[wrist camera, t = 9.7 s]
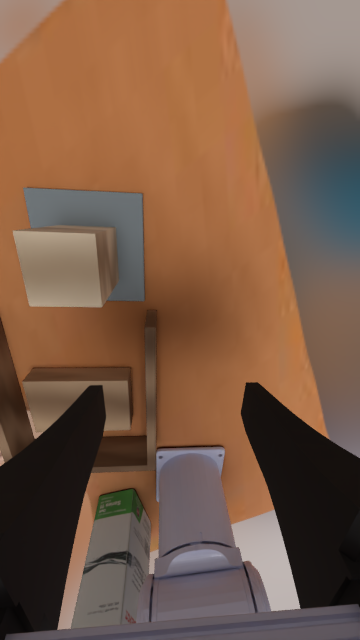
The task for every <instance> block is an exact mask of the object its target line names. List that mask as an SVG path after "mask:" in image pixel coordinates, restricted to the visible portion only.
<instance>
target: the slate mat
mask: <svg viewBox="0 0 360 640" xmlns="http://www.w3.org/2000/svg"><path fill="white" fill-rule="evenodd" d="M23 190H24V195H25V200H26V205H27V210H28V215H29V220H30V226H31V228H39V227H47V226H56V225H72V226H97V227H116V237H117V254H118V270H119V282H118V283H117V285H116V286H115V288H114V289H113V291H112V293H111V294H110V296H109V297H108V299H107V300H106V301H145V286H144V235H143V194H140V193H120V192H99V191H79V190H59V189H39V188H23Z"/></svg>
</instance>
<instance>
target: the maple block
mask: <svg viewBox="0 0 360 640" xmlns="http://www.w3.org/2000/svg"><path fill="white" fill-rule="evenodd" d="M13 235H14V239H15V244H16V248H17V252H18V257H19V261H20V266H21V270H22V275H23V279H24V284H25V288H26V293H27V297H28V302H29V306H47V307H103V305H104V304H105V302H106V300H107V299H108V297H109V296H110V294H111V293H112V291H113V289H114V288H115V286H116V285H117V283H118V282H119V270H118V254H117V237H116V227H97V226H72V225H56V226H47V227H39V228H31V229H23V230H15V231H13Z"/></svg>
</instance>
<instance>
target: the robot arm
mask: <svg viewBox="0 0 360 640" xmlns="http://www.w3.org/2000/svg"><path fill="white" fill-rule="evenodd" d="M241 416H242V420H243V424H244V427H245V431H246V434H247V436H248V439H249V441H250V444H251V446H252V449H253V451H254V454H255V456H256V459H257V461H258V463H259V466H260V468H261V471H262V473H263V476H264V478H265V481H266V484H267V486H268V489H269V493H270V496H271V499H272V502H273V506H274V509H275V512H276V516H277V519H278V522H279V526H280V530H281V533H282V536H283V540H284V544H285V547H286V551H287V555H288V559H289V563H290V566H291V570H292V575H293V579H294V583H295V587H296V591H297V595H298V599H299V603H300V608H301V609H295V610H282V611H271V609H270V605H269V601H268V598H267V594H266V591H265V588H264V585H263V582H262V579H261V576H260V574H259V572H258V570H257V569H256V568H255V567H254V566H253V565H252V564H251V562H249V561H245V562H242V558H241V553H240V549H239V548H238V547H236V546H235V541H234V537H233V532H232V528H231V523H230V518H229V514H228V509H227V505H226V500H225V496H224V491H223V486H222V482H221V473H222V466H223V460H224V454H225V450H224V448H223V447H195V448H162V449H158V450H157V451H156V501H158V502H159V558H156V559H155V571H154V572H155V573H154V574H149V575H147V577H146V580H145V582H144V583H143V585H142V587H141V589H140V593H139V599H138V607H137V618H136V623H132V624H120V625H109V626H97V627H86V628H74V629H62V630H57V628H58V622H59V617H60V611H61V606H62V600H63V595H64V589H65V584H66V578H67V573H68V568H69V563H70V558H71V553H72V548H73V544H74V538H75V534H76V529H77V525H78V520H79V516H80V511H81V506H82V503H83V498H84V494H85V491H86V487H87V484H88V481H89V478H90V474H91V471H92V468H93V465H94V462H95V459H96V456H97V453H98V450H99V446H100V443H101V440H102V436H103V432H104V427H105V421H106V410H105V402H104V393H103V385H90V386H89V387H87V389H86V390H85V391H84V392H83V393H82V394H81V395H80V396H79V397H78V398H77V399H76V401H75V402H74V403H73V404H72V405H71V406H70V407H69V408H68V409H67V410H66V411H65V412H64V413H63V414H62V415H61V416H60V417H59V418H58V419H57V420H56V421H55V422H54V423H53V424H52V425H51V426H50V427H49V428H48V429H47V430H46V431H44V432H43V433H42V434H41V435H40V436H39V437H38V438H37V439H35V440H34V441H33V442H32V443H31V444H29V445H28V446H27V447H26V448H24V449H23V450H22V451H21V452H19V453H18V454H17V455H15V456H14V457H13V458H11V459H10V460H8V461H7V462H6V463H4V464H3V465H2V466H0V640H360V458H358V457H357V456H355V455H353V454H352V453H350V452H348V451H346V450H345V449H343V448H341V447H340V446H338V445H337V444H335V443H333V442H332V441H330V440H329V439H327V438H326V437H324V436H323V435H322V434H320V433H319V432H317V431H316V430H314V429H313V428H312V427H310V426H309V425H308V424H306V423H305V422H304V421H302V420H301V419H300V418H298V417H297V416H296V415H295V414H294V413H292V412H291V411H290V410H289V409H287V408H286V407H285V406H284V405H283V404H282V403H280V402H279V401H278V400H277V399H276V398H275V397H274V396H273V395H271V394H270V393H269V392H268V391H267V390H266V389H265V388H264V387H262V386H261V385H260V384H259V383H258V382H255V383H246V386H245V392H244V398H243V403H242V409H241Z"/></svg>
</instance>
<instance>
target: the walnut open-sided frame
mask: <svg viewBox="0 0 360 640" xmlns="http://www.w3.org/2000/svg"><path fill="white" fill-rule="evenodd" d="M156 312H157V310H147V315H146V322H145V372H146V419H147V436H123V437H102V440H101V443H100V446H99V450H98V453H97V456H96V459H95V462H94V465H93V468H92V471H91V473H101V472H128V471H155V470H156ZM22 383H23V387H24V390H25V394H26V398H27V401H28V405H29V408H30V412H31V415H32V419H33V423H34V426H35V430H36V432H44V431H46V430H47V429H48V428H49V427H50V426H51V425H52V424H53V423H54V422H55V421H56V420H57V419H58V418H59V417H60V416H61V415H62V414H63V413H64V412H65V411H66V410H67V409H68V408H69V407H70V406H71V405H72V404H73V403H74V402H75V401H76V399H77V398H78V397H79V396H80V395H81V394H82V393H83V392H84V391H85V390H86V389H87V387H89V386H90V385H103V393H104V402H105V410H106V421H105V427H104V431H108V430H131V424H132V417H133V407H132V388H131V368H33V369H32V370H31V372H30V373H29V374H28V375H27V376H26V378H25V379H24V380H23V381H22ZM34 440H35V439H34V436H33V432H32V429H31V425H30V422H29V418H28V414H27V411H26V407H25V404H24V400H23V397H22V393H21V390H20V386H19V383H18V379H17V376H16V372H15V368H14V365H13V361H12V358H11V354H10V351H9V347H8V344H7V340H6V337H5V333H4V330H3V326H2V322H1V319H0V450H1V453H2V456H3V459H4V461H5V463H6V462H7V461H8V460H10V459H11V458H13V457H14V456H15V455H17V454H18V453H19V452H21V451H22V450H23V449H24V448H26V447H27V446H28V445H29V444H31V443H32V442H33V441H34Z"/></svg>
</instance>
